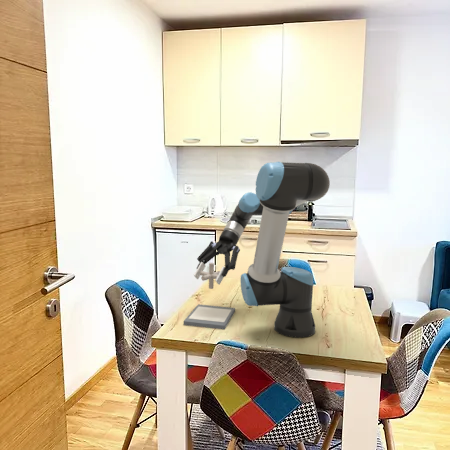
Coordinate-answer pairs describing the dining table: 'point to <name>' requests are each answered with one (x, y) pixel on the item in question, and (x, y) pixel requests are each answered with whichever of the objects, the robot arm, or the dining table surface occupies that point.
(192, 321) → the board
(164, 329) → the dining table surface
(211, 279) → the pipe connector
